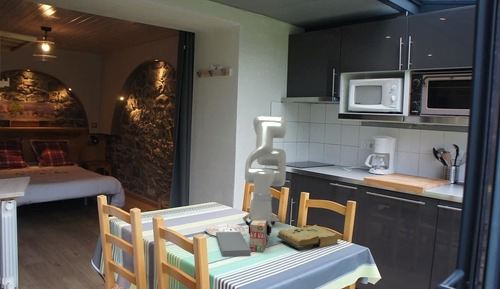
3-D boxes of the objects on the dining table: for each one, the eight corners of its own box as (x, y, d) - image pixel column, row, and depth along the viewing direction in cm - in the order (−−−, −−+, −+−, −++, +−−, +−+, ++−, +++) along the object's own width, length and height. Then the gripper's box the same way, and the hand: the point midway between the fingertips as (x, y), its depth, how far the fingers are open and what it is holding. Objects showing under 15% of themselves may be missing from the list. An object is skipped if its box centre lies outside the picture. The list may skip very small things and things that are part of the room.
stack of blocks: (256, 236, 189) (257, 212, 188) (268, 237, 188) (269, 213, 187) (249, 251, 168) (250, 223, 167) (263, 252, 167) (264, 225, 166)
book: (315, 235, 197) (316, 223, 196) (338, 244, 183) (339, 232, 182) (276, 241, 183) (276, 229, 183) (298, 252, 169) (298, 239, 169)
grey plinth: (240, 236, 188) (240, 231, 188) (250, 255, 162) (250, 250, 162) (216, 237, 186) (216, 232, 185) (222, 256, 160) (222, 250, 160)
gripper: (277, 196, 181) (275, 232, 182) (241, 195, 178) (239, 233, 179) (281, 199, 174) (279, 237, 175) (244, 199, 170) (242, 237, 172)
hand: (259, 234), depth 177 cm, fingers closed on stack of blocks, 7 cm apart
